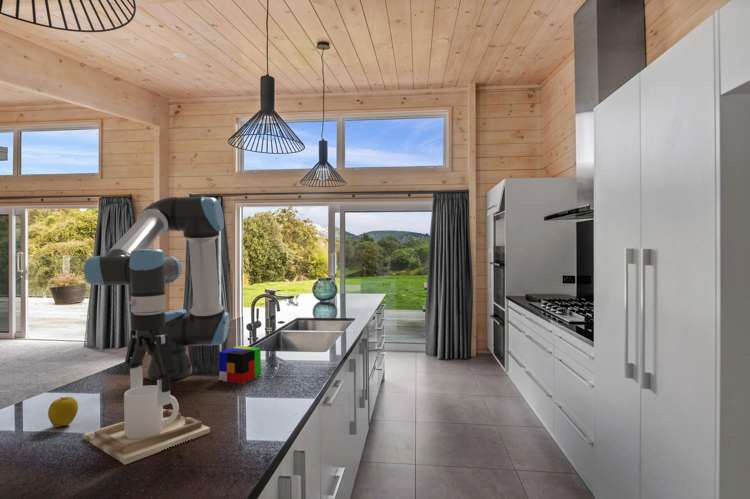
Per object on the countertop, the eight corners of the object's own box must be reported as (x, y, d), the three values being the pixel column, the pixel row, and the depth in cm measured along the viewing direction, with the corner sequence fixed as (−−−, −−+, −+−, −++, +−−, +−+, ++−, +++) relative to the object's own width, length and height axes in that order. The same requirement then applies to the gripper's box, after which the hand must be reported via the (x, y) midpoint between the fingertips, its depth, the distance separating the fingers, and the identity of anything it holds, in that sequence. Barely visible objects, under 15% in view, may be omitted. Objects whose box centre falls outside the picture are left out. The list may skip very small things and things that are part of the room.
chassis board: (83, 438, 106) (83, 428, 106) (164, 413, 122) (164, 404, 122) (125, 464, 93) (125, 453, 93) (210, 432, 109) (209, 422, 109)
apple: (55, 433, 110) (54, 401, 110) (43, 427, 113) (43, 396, 113) (83, 424, 115) (82, 393, 115) (71, 419, 118) (71, 389, 118)
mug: (182, 423, 112) (181, 382, 112) (175, 436, 104) (175, 393, 104) (130, 427, 109) (130, 386, 109) (119, 442, 101) (119, 397, 101)
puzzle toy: (219, 380, 152) (218, 352, 152) (238, 373, 162) (238, 345, 162) (242, 383, 149) (242, 354, 149) (260, 375, 158) (260, 348, 158)
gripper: (109, 309, 111) (111, 392, 112) (158, 320, 96) (160, 415, 97) (139, 306, 117) (141, 384, 118) (190, 315, 102) (192, 405, 103)
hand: (149, 398), depth 107 cm, fingers open, 13 cm apart
